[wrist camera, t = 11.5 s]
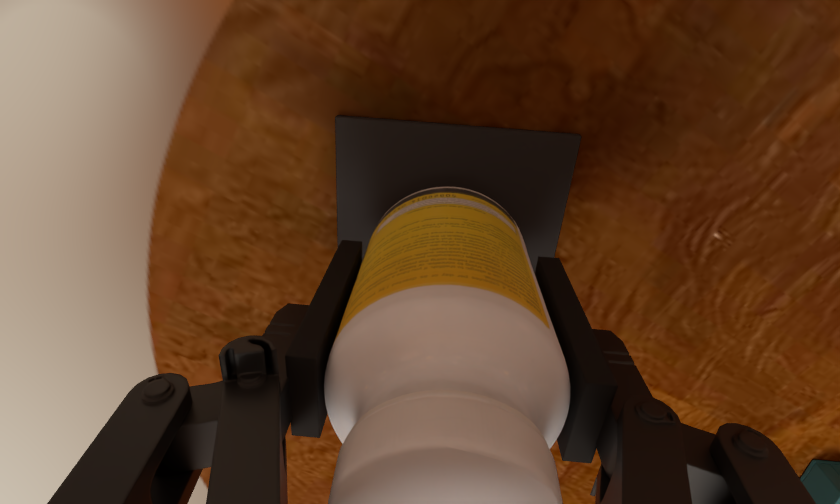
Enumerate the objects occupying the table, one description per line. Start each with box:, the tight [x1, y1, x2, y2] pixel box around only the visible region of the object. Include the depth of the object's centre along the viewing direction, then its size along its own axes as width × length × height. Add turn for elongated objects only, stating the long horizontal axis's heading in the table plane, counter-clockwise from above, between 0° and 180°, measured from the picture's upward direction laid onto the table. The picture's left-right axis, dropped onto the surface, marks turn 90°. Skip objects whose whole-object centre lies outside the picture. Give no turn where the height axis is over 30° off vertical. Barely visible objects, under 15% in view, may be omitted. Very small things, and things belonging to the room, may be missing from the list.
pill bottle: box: [324, 187, 570, 504], centre depth 14 cm, size 6×6×12 cm
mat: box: [335, 115, 581, 274], centre depth 21 cm, size 10×10×1 cm
